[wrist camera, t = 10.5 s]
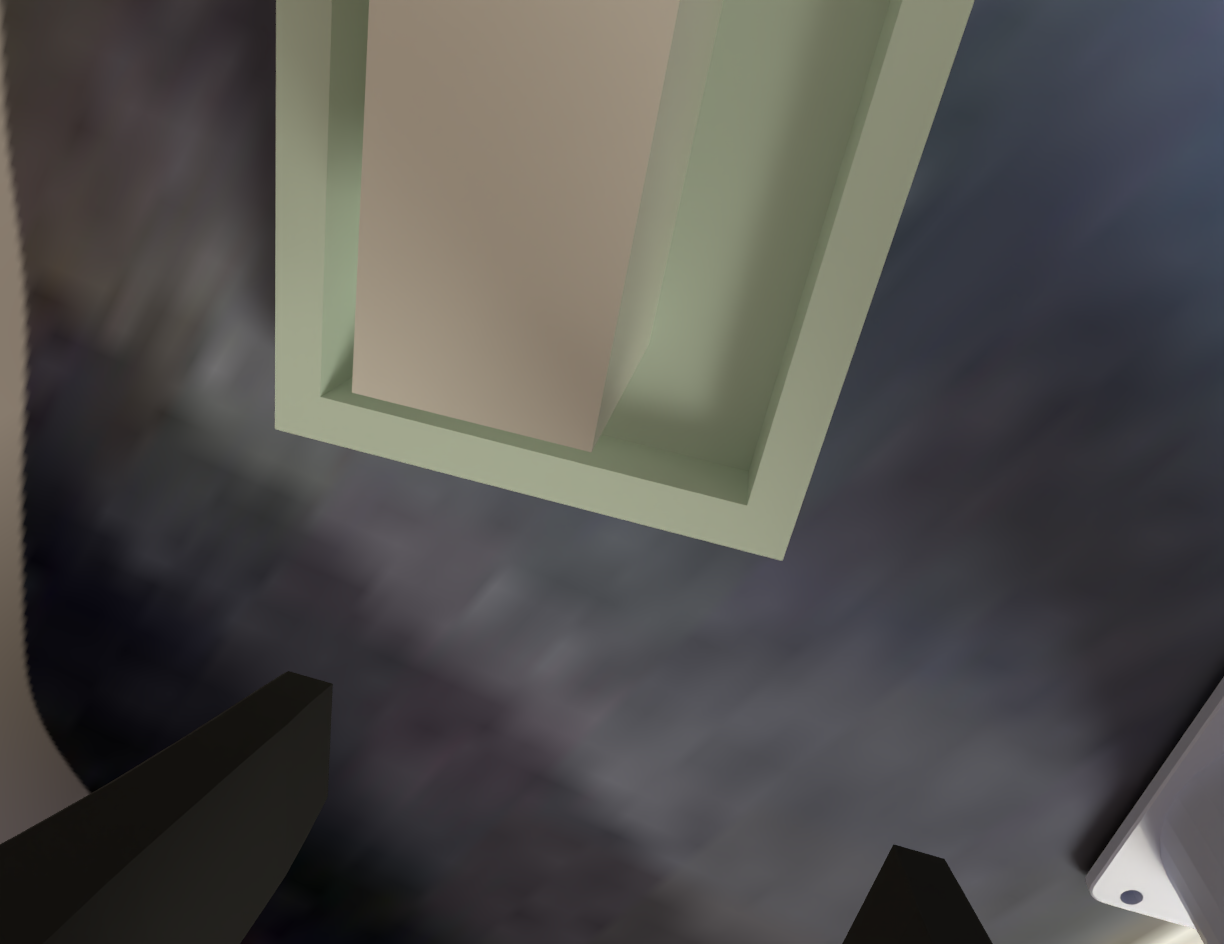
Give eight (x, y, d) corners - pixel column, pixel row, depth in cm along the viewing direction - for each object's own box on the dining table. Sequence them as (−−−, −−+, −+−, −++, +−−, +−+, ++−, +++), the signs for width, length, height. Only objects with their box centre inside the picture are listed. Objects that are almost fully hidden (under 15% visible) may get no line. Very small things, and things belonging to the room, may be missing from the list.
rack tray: (1134, -571, 10) (1235, -763, 8) (779, 506, 18) (782, 561, 16) (374, -676, 11) (278, -875, 9) (333, 393, 19) (275, 428, 16)
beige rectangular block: (804, -376, 11) (845, -846, 6) (649, 343, 16) (591, 452, 11) (574, -412, 12) (408, -894, 6) (488, 305, 16) (351, 392, 11)
